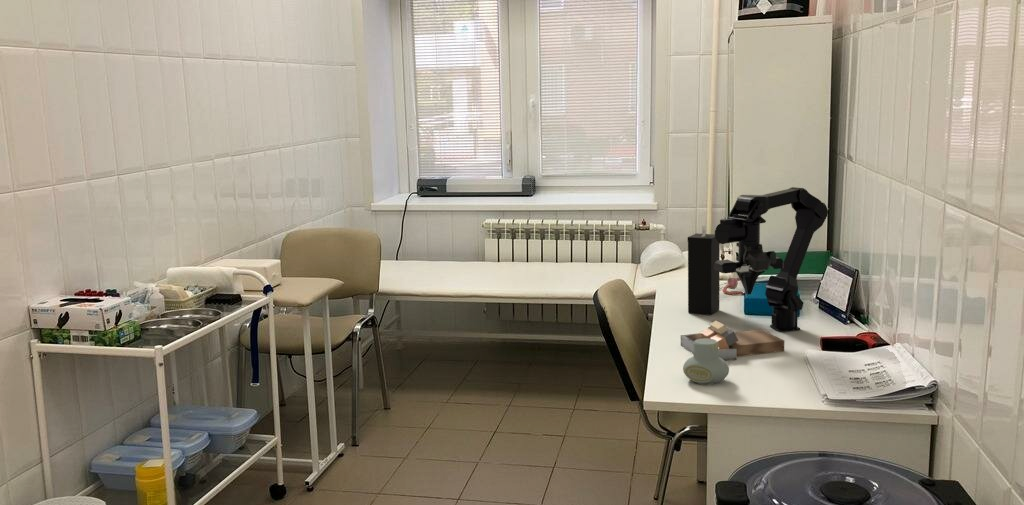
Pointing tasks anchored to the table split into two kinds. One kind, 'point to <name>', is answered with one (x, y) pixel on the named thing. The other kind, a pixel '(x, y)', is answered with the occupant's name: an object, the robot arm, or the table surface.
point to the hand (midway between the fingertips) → (748, 294)
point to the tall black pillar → (703, 273)
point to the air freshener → (706, 363)
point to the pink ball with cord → (731, 286)
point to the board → (757, 343)
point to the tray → (689, 339)
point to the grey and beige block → (724, 332)
